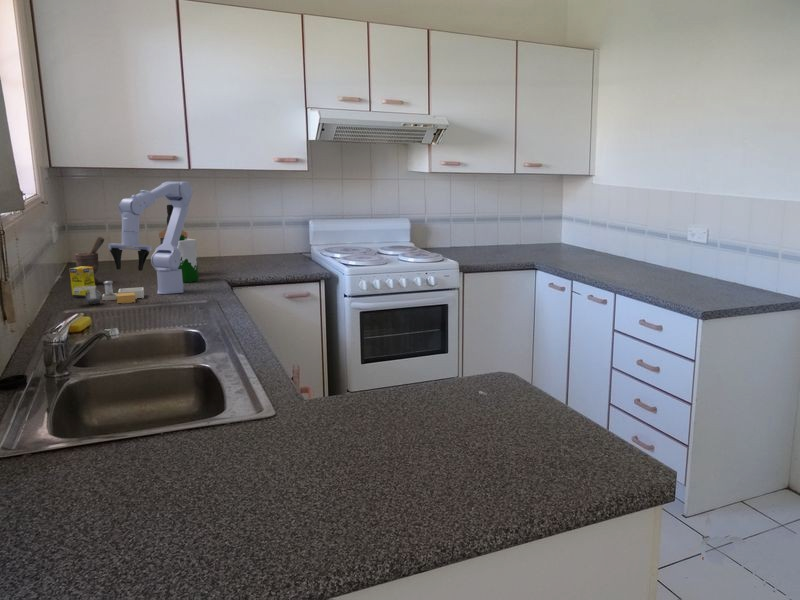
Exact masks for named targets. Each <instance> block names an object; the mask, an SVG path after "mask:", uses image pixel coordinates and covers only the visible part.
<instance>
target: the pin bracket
mask: <svg viewBox="0 0 800 600" xmlns="http://www.w3.org/2000/svg"><path fill="white" fill-rule="evenodd" d="M117 294H118V292H115V293H114V292H113V295H112V296H106V295H105V293H103V294H101V295H102V298H101V300H105V301H115V300H116V301H117Z"/></svg>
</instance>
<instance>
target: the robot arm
mask: <svg viewBox="0 0 800 600" xmlns="http://www.w3.org/2000/svg"><path fill="white" fill-rule="evenodd" d="M193 193H194V192H193V188H192V186H191V184H190V183H189V182H188V181H186V180H185V181H169V180H167V181H165V182H161V184H160V185H159V186H156V187H155V188H154V189H151V190H146V189H141V190H140V191H139V193H137V194H132V195H131V197H129V198H128V197H127V198H122V199H121V201H120V202H119V205H118V207H117V208H118V211H119V213H120V217H121V243H111V242H110V243H109V242H108V244H107V247H108V249H109V252H110V254H111V256H112V257H113V260H114V263H115V267H116V270H121V269H122V268H121V267H122V253H123V250H128V251H129V250H131V251H132V250H133V251H137V254H138V266H137V267H138V268H137V269H138V271H144V270H143V269H144V265H145V263H146V261H147V258H148V257H149V255H150V252H151V251H152V250H153V249H152V247H153V246H152V245H150V244H148V245H147V244H140V219H141V218H140V215H142V214H143V213H144V210H145V209H147V208H149V207H151V206H153V205H155V203H156V200H157V199H160V198H163V197H164V196H165V198H166V200H167V201H168V202H169V205H173V211H172V215H171V218H170V221H169V224H168V225H167V228H166V229H167V231H166V234H165V237H164V240H163V244H161V243H160V245H159V246H156V247H155V249H154V252H153V253H152V254H151V256H150V264H151V266H152V267H153V268H154V270H155V271H156V279H157V291H156V293H157V295H165V294H166V295H168V294H169V295H170V294H180V293H181V294H182V293H184V288H185V285H184V284H185V283H183V280H182V269H178V267H179V265H180V256H181V252H180V251H179V250H178V248H177V246H178V242H179V239H180V236H181V232H182V230H184V226H185V222H186V218H187V215H188V212H189V207H190V203H191V199H192V195H193Z"/></svg>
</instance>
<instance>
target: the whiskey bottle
mask: <svg viewBox="0 0 800 600" xmlns="http://www.w3.org/2000/svg"><path fill="white" fill-rule="evenodd" d="M172 211H173V205H171V204H166V212H167V217H166V226H168V224H169V221H170V218H171V215H172ZM166 231H167V228H165V229H163V230H162V231H160V232H159V233H158V237H159V239H160V245H161V244H163V240H164V237H165V234H166ZM188 234H189V233H188V232H187V231H186V230H184V229H182V232H181V235H184V239H188V236H189V235H188Z"/></svg>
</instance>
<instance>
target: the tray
mask: <svg viewBox="0 0 800 600" xmlns="http://www.w3.org/2000/svg"><path fill="white" fill-rule="evenodd" d="M144 290H145V289H144V286H142V287H141V286H140V287H127V288H126V287H125V288H119V289H118V291H117V294H121V293H135V300H138V299H137V298H142V299H144V298H145V291H144Z"/></svg>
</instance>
